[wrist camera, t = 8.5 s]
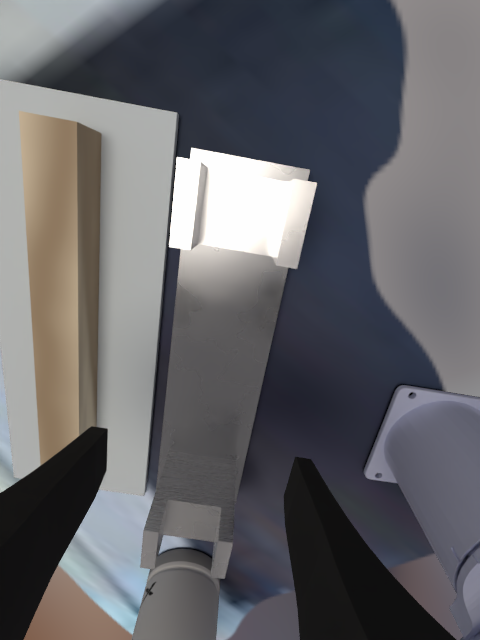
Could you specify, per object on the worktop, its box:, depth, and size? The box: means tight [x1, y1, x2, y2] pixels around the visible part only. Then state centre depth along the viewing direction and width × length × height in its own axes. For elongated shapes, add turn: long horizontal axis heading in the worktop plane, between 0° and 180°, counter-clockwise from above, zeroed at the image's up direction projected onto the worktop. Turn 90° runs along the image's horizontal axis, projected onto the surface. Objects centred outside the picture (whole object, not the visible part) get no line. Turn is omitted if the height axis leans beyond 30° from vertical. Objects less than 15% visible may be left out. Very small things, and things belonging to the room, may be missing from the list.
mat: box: [0, 79, 179, 496], centre depth 20 cm, size 10×26×1 cm, turn 170°
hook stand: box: [140, 148, 317, 579], centre depth 18 cm, size 6×23×7 cm, turn 170°
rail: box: [19, 111, 101, 465], centre depth 19 cm, size 2×23×2 cm, turn 170°
